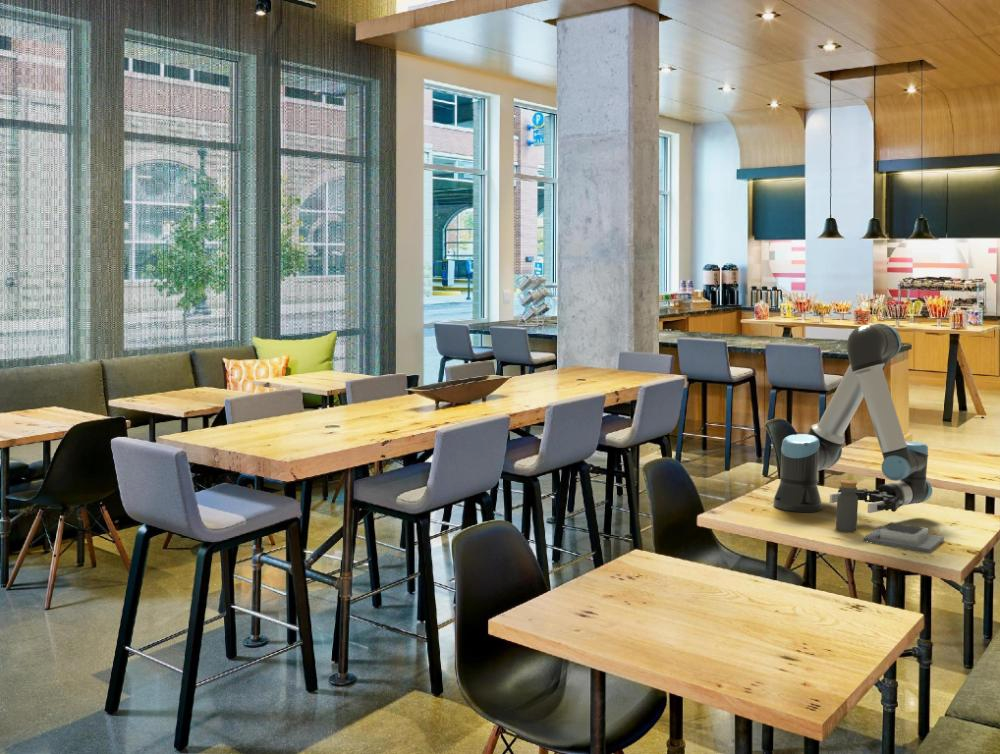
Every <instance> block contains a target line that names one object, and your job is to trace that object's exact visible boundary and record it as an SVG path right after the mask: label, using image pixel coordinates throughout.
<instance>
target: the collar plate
mask: <svg viewBox="0 0 1000 754" xmlns="http://www.w3.org/2000/svg"><path fill="white" fill-rule="evenodd" d="M864 541H868V542H867V543H870V542H872V543H871V544H875V543H877V545H881V544H883V545H882V546H886V545H887V547H893V548H897V547H898V548H899V549H904V550H907V551H908V550H909V551H913V552H920V553H924V554H930V553H931V552H932V551H933V550H935V549H936V548H937V547H938V546H940V543H941V544H942V543H943V542H944V541H945V536H939V535H935V534H929V528H928V527H923V526H918V525H917V526H916V525H912V524H911V525H910V524H906V523H905V524H903V523H899V522H893V521H891V522H889V523H888V524H886V525H884V526H881V525H880V526H878V527H877V528H876V529H873V531H871V532H869V533H868V534H866V535H865V536H863V540H862V542H864Z"/></svg>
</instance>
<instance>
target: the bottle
mask: <svg viewBox="0 0 1000 754" xmlns="http://www.w3.org/2000/svg"><path fill="white" fill-rule="evenodd" d="M857 485H858V482H857V480H852V479H851V480H850V479H841V480H840V486H839V488H838V490H841V493H840V494H838V498H837V502H836V518H835V519H836V520H835V530H836V531H838V532H841V533H848V532H851V533H855V531H856V532H857V525H858V510H859V509H858V506H859V500H858V496H857V495H856V494H855V492H857V489H858V487H857Z"/></svg>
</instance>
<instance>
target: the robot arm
mask: <svg viewBox="0 0 1000 754" xmlns="http://www.w3.org/2000/svg"><path fill="white" fill-rule="evenodd" d="M901 347H902V339H901V336H900V333H899V332H898V331H897V329H895V328H894V327H892V325H889V324H884V323H873V324H865V325H860V326H857V327H856V328H854V330H852V331H851V333H850V334H849V335H848V338H847V342H846V351H847V357H848V361H849V365H848V367H847V369H846V371H845V373H844V374H843V377H842V379H841V381H840V382H839V385H838V386H837V388H836V390H835V392H834V393H833V396H832V397H831V399H830V401H829V403H828V405H827V407H826V409H824V412H823V414H822V415H821V417H820V420H819V422H817V423H814V424H812V425H811V427H810V428H809V431H808V433H805V434H804V433H796V434H790V435H787V436H786V437H784V438H783V439H782V442H781V447H780V449H781V450H780V451H781V455H780V456H781V457H780V481H779V484H778V487H777V490H776V493H775V495H774V497H773V507H775V508H777V509H779V510H783V511H788V512H795V513H814V512H819V511H821V510H822V504H823V503H822V498H821V495H820V491H819V487H818V477H819V475H818V474H819V471H822V470H826V469H830V468H831V467H833V466H834V465H836V464H837V463H838V462H839V461H840V459H841V457H842V453H843V448H842V447H843V446H844V444H845V441H846V440H845V437H844V434H845V431H846V430H847V428H848V427H849V425H850V422H851V421H852V419H853V417H854V416H855V413H856V412H857V411H858V409H859V407H860V404H861V403H862V401H863V399H864V400H865V404H866V407H867V410H868V413H869V417H870V419H871V423H872V426H873V428H874V432H875V435H876V438H877V442H878V445H879V448H880V451H881V454H882V457H883V461H882V462H881V463H882V464H881V472H882V474H883V475H884V476H885V477H886V478H887V479H889V480H891V481H894V482H890V483H884V484H881V485H879V486H878V487H877V489H874V490H868V488H861V489H860V488H859V489H858V488H857V492H855V494H856V495H857V496H858V501H863V502H865V503H867V513H869V514H873V513H878V512H882V511H883V512H884V511H885V512H886V511H889V510H890V512H893V513H895V512H896V511H897V510H898V509H899V508H901V507H903V506H908V505H914V504H920V503H924V502H925V501H928V500H929V499H930V498H931V497H932V496H933V495H932V494H933V487H932V484H931V483H930V482H929V481H928V479H927V473H928V471H927V470H928V461H929V460H928V458H929V446H928V444H927V443H924V442H919V441H906V440H905V437H904V433H903V430H902V427H901V424H900V421H899V417H898V414H897V410H896V408H895V404H894V401H893V398H892V395H891V392H890V388H889V386H888V382H887V379H886V376H885V373H884V371H885V369H886V367H887V365H888V364H889V361H890V360H891V359H894V358H895V356H896V355H898V353H899V352H900V350H901ZM899 480H900V481H899ZM895 481H896V482H895ZM840 493H841V490H839V489H838V491H837V492H835V493H834V492H833V493H830V494H829V504H834V503H836V504H837V498H838V494H840Z"/></svg>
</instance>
